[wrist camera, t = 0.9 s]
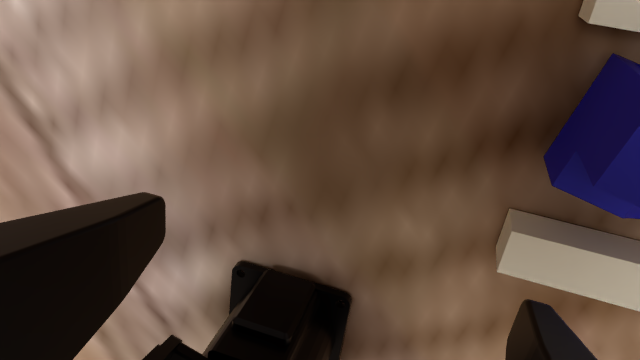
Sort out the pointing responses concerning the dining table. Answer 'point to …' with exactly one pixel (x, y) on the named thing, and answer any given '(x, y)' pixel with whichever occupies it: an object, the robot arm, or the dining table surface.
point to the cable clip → (603, 143)
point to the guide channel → (572, 240)
